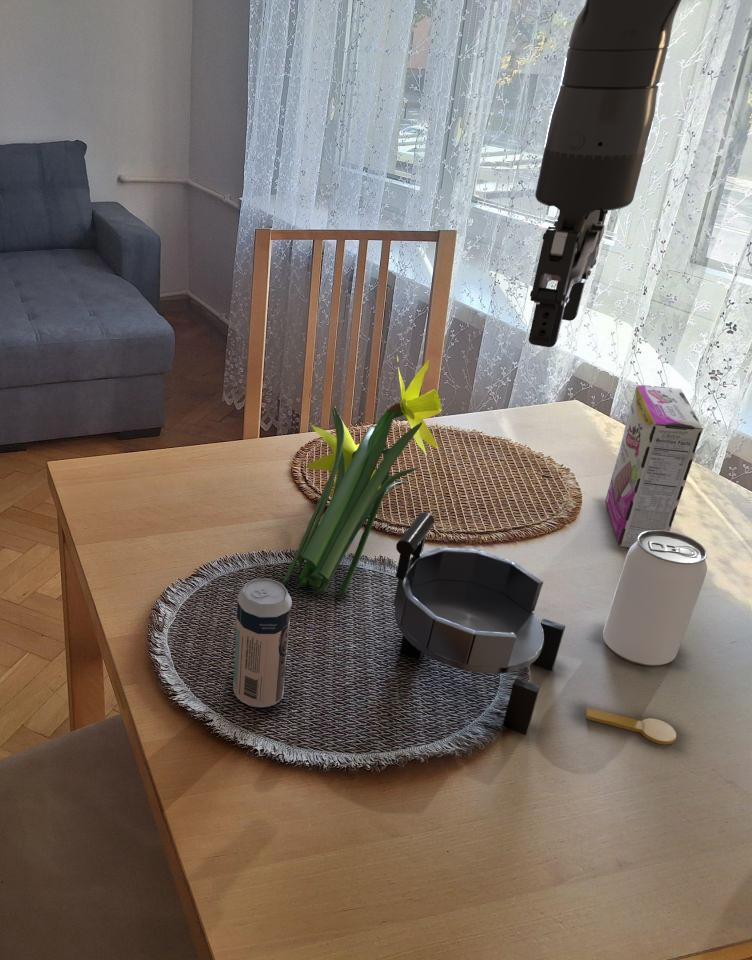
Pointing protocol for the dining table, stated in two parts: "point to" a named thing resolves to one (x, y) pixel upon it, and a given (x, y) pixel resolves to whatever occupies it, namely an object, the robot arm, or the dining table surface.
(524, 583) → the bowl
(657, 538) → the can
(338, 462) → the daffodil flowers
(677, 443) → the candy bar box
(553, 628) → the bowl stand
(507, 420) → the dining table surface
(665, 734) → the spoon
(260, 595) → the beer can
